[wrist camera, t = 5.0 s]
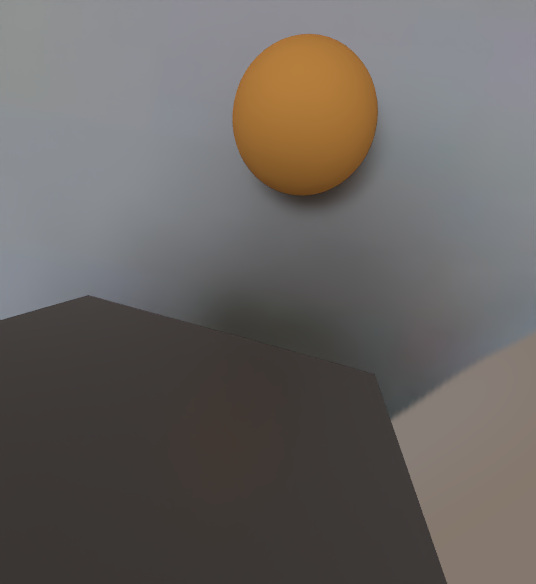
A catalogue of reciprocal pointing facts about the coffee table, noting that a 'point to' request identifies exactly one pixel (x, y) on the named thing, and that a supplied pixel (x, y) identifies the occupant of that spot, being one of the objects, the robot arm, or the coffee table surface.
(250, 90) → the ball
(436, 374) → the coffee table surface
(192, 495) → the grey cube
